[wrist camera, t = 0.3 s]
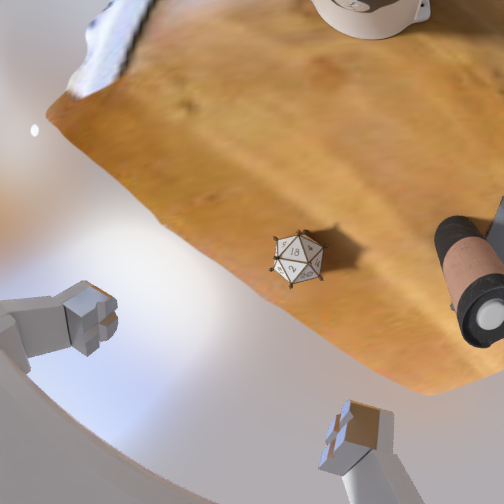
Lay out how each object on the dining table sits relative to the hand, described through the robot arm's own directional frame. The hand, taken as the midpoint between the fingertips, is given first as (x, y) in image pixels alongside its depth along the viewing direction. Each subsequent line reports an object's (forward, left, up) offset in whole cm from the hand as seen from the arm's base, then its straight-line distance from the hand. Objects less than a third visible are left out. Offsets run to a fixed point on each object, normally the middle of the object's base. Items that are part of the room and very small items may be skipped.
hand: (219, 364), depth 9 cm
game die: (+15, -2, -38) cm, 41 cm away
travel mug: (+5, +20, -38) cm, 43 cm away
